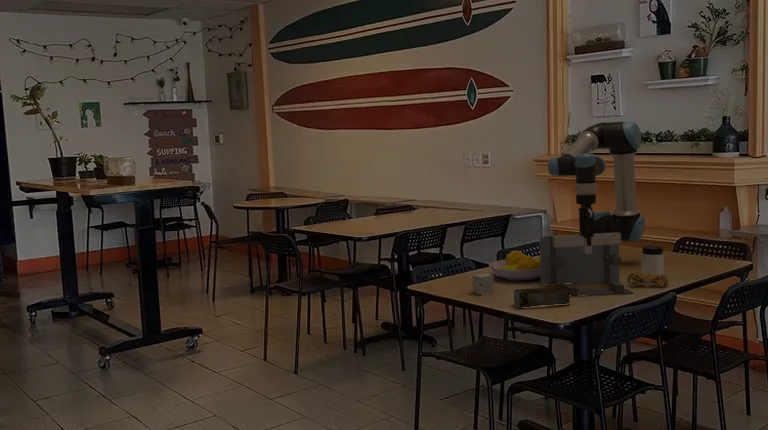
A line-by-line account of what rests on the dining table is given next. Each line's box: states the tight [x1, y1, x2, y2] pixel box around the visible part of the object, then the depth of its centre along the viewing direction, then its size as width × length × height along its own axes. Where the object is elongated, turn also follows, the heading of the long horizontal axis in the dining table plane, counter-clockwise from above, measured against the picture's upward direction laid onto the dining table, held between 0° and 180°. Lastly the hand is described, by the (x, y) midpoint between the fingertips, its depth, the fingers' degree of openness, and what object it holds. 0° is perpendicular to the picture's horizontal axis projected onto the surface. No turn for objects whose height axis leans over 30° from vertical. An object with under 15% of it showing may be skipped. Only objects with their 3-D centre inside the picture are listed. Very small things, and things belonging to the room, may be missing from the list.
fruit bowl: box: [488, 250, 541, 282], centre depth 329 cm, size 28×27×11 cm
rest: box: [563, 281, 634, 296], centre depth 295 cm, size 7×28×4 cm, turn 92°
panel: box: [539, 235, 622, 286], centre depth 307 cm, size 14×32×20 cm, turn 91°
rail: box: [552, 232, 622, 247], centre depth 302 cm, size 4×26×4 cm, turn 91°
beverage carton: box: [513, 285, 571, 309], centre depth 281 cm, size 8×19×7 cm, turn 96°
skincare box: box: [472, 272, 495, 295], centre depth 304 cm, size 6×6×7 cm
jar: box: [640, 245, 665, 276], centre depth 322 cm, size 9×8×12 cm
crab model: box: [626, 272, 669, 289], centre depth 305 cm, size 16×13×6 cm
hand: (586, 252), depth 303 cm, fingers closed on rail, 3 cm apart
